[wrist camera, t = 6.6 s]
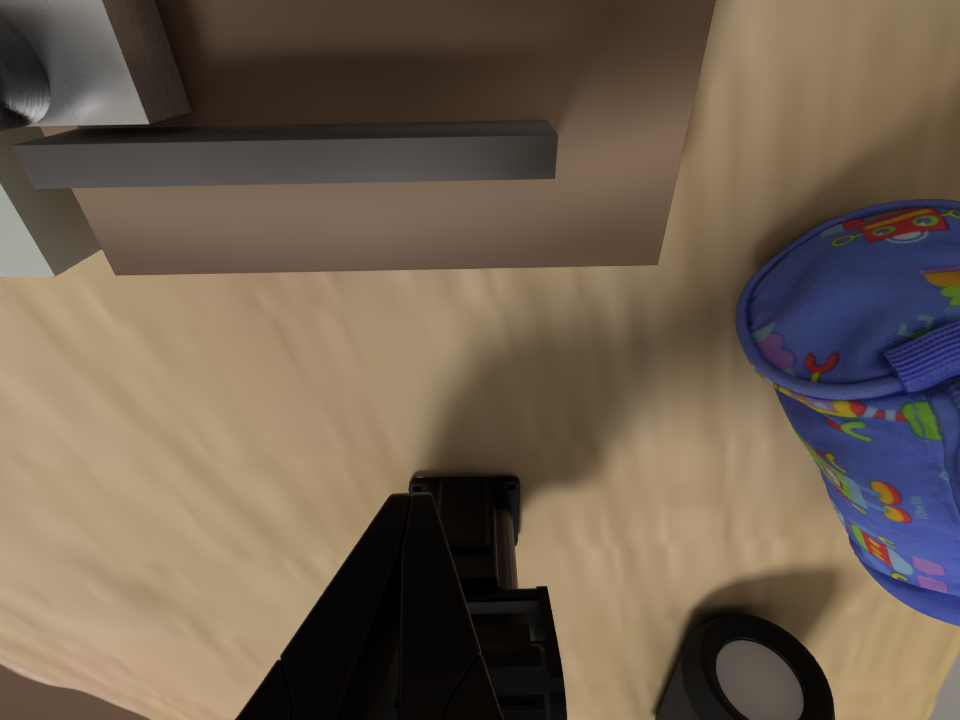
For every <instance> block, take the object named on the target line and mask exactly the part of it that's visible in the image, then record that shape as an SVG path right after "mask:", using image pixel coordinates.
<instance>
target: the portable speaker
mask: <svg viewBox="0 0 960 720" xmlns="http://www.w3.org/2000/svg"><path fill="white" fill-rule="evenodd" d="M656 720H835V713H834V703H833V697H832V693H831V689H830V686H829V684H828V681H827V679H826V677H825V675H824V672H823V670H822V669H821V667H820V666H819V664H818V663H817V661H816V660H815V658H814V657H813V656H812V654H811V653H810V652H809V651H808V650H807V649H806V648H805V647H804V646H803V645H802V644H801V643H800V642H799V641H798V640H797V639H796V638H795V637H794V636H792V635H791V634H790V633H788V632H787V631H785V630H784V629H782V628H781V627H779V626H778V625H776V624H774V623H772V622H770V621H767V620H765V619H762V618H759V617H756V616H751V615H745V614H732V615H727V616H723V617H720V618H716V619H712V620H710V621H707V622H705V623H702V624H701V625H699V626H698V627H697V628H696V629H695V630H694V631H693V632H692V633H691V634H690V636H689V637H688V639H687V640H686V643H685V645H684V648H683V652H682V655H681V658H680V660H679V663H678V665H677V668H676V670H675V673H674V675H673V678H672V680H671V683H670V685H669V688H668V690H667V692H666V695H665V697H664V700H663V702H662V705H661V707H660V710H659V712H658V715H657V717H656Z"/></svg>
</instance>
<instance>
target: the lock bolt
mask: <svg viewBox="0 0 960 720" xmlns="http://www.w3.org/2000/svg"><path fill="white" fill-rule="evenodd" d="M189 112H192V111H191V108H190V105H189V102H188V99H187V96H186V93H185V90H184V87H183V84H182V81H181V78H180V75H179V72H178V69H177V66H176V63H175V60H174V57H173V54H172V51H171V48H170V45H169V42H168V39H167V36H166V33H165V30H164V27H163V24H162V21H161V17H160V14H159V11H158V8H157V5H156V2H155V0H0V132H1V131H6V130H10V129H15V128H20V127H26V126H78V125H131V124H152V123H155V122H158V121H162V120H165V119H169V118H172V117H175V116H179V115H182V114H186V113H189Z"/></svg>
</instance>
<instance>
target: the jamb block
mask: <svg viewBox="0 0 960 720" xmlns="http://www.w3.org/2000/svg"><path fill="white" fill-rule="evenodd" d="M43 137H45V136H44V134H43V132H42V130H41V128H40V126H26V127H20V128H15V129H10V130H6V131H1V132H0V278H9V277H55V276H57V275H59V274H61V273H62V272H64V271H66V270H67V269H69V268H71V267H72V266H74V265H76V264H77V263H79V262H81V261H83V260H84V259H86V258H88V257H89V256H91V255H93V254H94V253H96V252H98V251H99V250H101V249H102V248H101V246H100V244H99V242H98V240H97V238H96V236H95V234H94V232H93V230H92V228H91V226H90V224H89V222H88V220H87V218H86V216H85V214H84V212H83V210H82V208H81V206H80V204H79V202H78V201H77V199H76V197H75V195H74V193H73V191H72V189H71V188H58V189H34V188H33V186H32V184H31V182H30V180H29V179H28V177H27V175H26V173H25V171H24V169H23V168H22V166H21V164H20V162H19V160H18V159H17V157H16V155H15V153H14V151H13V150H12V148H11V145H15V144H19V143H23V142H27V141H31V140H35V139H39V138H43Z"/></svg>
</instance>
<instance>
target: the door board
mask: <svg viewBox="0 0 960 720" xmlns="http://www.w3.org/2000/svg"><path fill="white" fill-rule="evenodd" d="M155 2H156V5H157V8H158V11H159V14H160V17H161V21H162V24H163V27H164V30H165V33H166V36H167V39H168V42H169V45H170V48H171V51H172V54H173V57H174V60H175V63H176V66H177V69H178V72H179V75H180V78H181V81H182V84H183V87H184V90H185V93H186V96H187V99H188V102H189V105H190V108H191V111H192V112H189V113H186V114H182V115H179V116H175V117H172V118H169V119H165V120H162V121H158V122H155V123H152V124H131V125H78V126H40V128H41V130H42V132H43V134H44V136H45V137H43V138H39V139H35V140H31V141H27V142H23V143H19V144H15V145H11V148H12V150H13V151H14V153H15V155H16V157H17V159H18V160H19V162H20V164H21V166H22V168H23V169H24V171H25V173H26V175H27V177H28V179H29V180H30V182H31V184H32V186H33V188H34V189H58V188H71V189H72V191H73V193H74V195H75V197H76V199H77V201H78V202H79V204H80V206H81V208H82V210H83V212H84V214H85V216H86V218H87V220H88V222H89V224H90V226H91V228H92V230H93V232H94V234H95V236H96V238H97V240H98V242H99V244H100V246H101V248H102V250H103V252H104V254H105V256H106V258H107V260H108V262H109V264H110V265H111V267H112V269H113V271H114V273H115V275H165V274H217V273H270V272H322V271H374V270H426V269H478V268H530V267H582V266H634V265H658V261H659V257H660V252H661V247H662V243H663V238H664V234H665V229H666V225H667V220H668V216H669V211H670V206H671V202H672V197H673V193H674V188H675V184H676V179H677V175H678V170H679V165H680V161H681V156H682V152H683V147H684V143H685V138H686V134H687V129H688V125H689V120H690V115H691V111H692V106H693V102H694V97H695V93H696V88H697V84H698V79H699V74H700V70H701V65H702V61H703V56H704V52H705V47H706V43H707V38H708V33H709V29H710V24H711V20H712V15H713V11H714V6H715V2H716V0H155Z"/></svg>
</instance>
